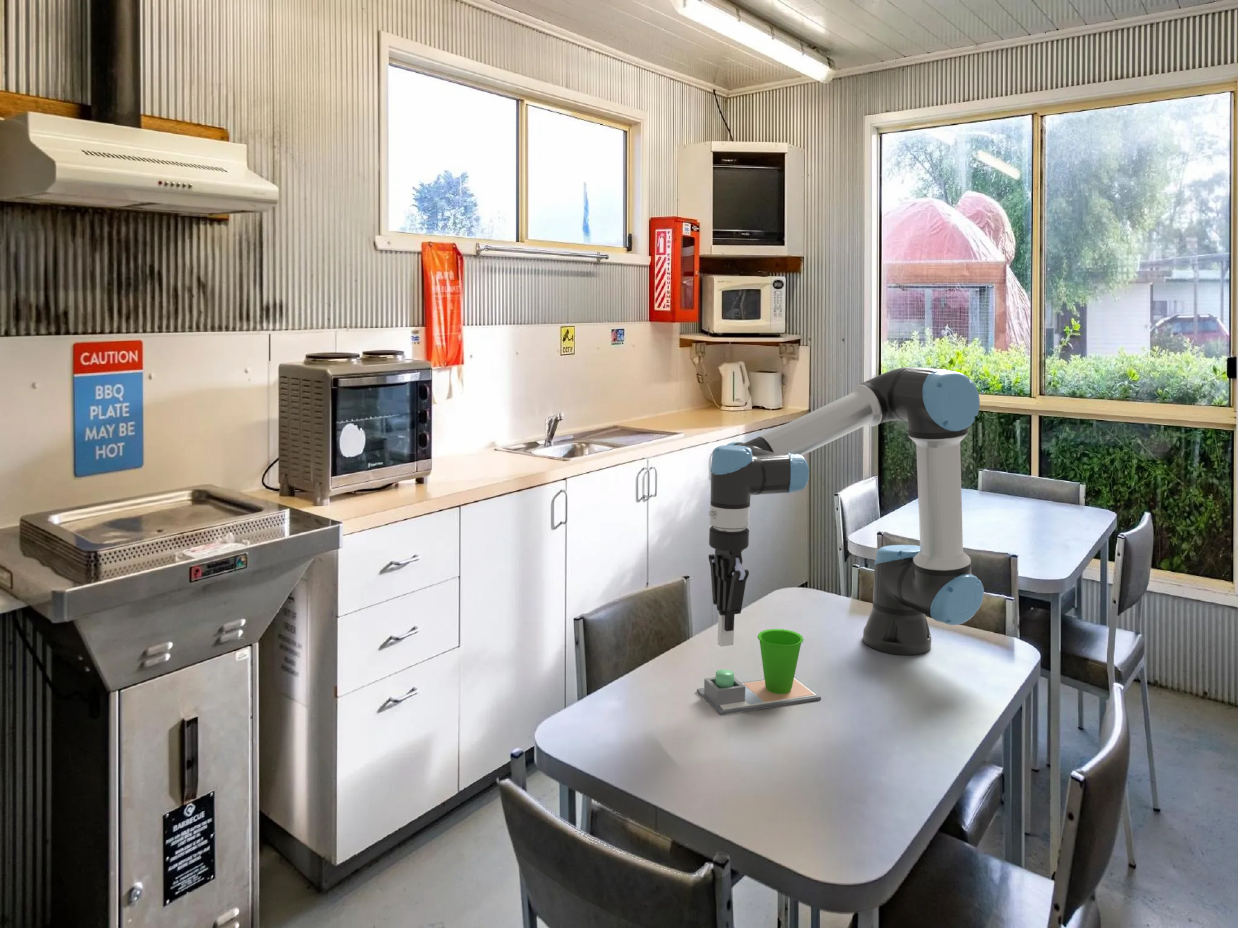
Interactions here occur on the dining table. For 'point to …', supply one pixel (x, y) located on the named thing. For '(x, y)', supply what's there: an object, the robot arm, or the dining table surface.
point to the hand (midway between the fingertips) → (725, 644)
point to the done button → (724, 678)
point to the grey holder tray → (752, 696)
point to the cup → (779, 658)
